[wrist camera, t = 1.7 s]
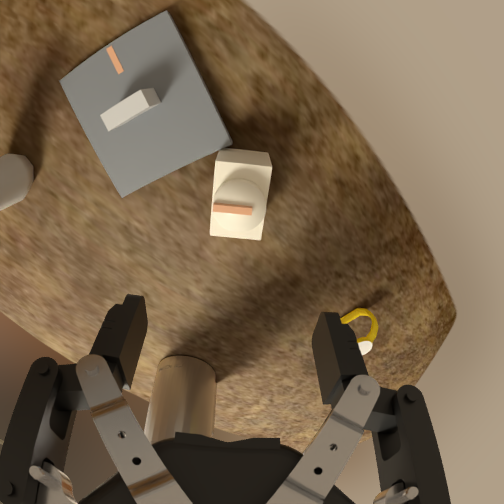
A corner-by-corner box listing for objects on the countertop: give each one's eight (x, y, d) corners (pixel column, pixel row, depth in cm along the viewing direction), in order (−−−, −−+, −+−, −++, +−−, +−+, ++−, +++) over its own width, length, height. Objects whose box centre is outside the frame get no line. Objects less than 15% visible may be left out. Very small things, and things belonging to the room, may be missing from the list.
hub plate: (232, 141, 26) (230, 153, 22) (125, 193, 29) (108, 213, 25) (169, 12, 20) (155, 1, 16) (65, 80, 22) (39, 84, 18)
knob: (268, 152, 27) (274, 173, 22) (258, 216, 31) (261, 250, 25) (220, 147, 27) (213, 166, 21) (214, 211, 30) (207, 244, 25)
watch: (362, 297, 37) (380, 328, 32) (371, 309, 38) (387, 339, 33) (325, 323, 39) (337, 356, 34) (334, 333, 40) (347, 365, 35)
